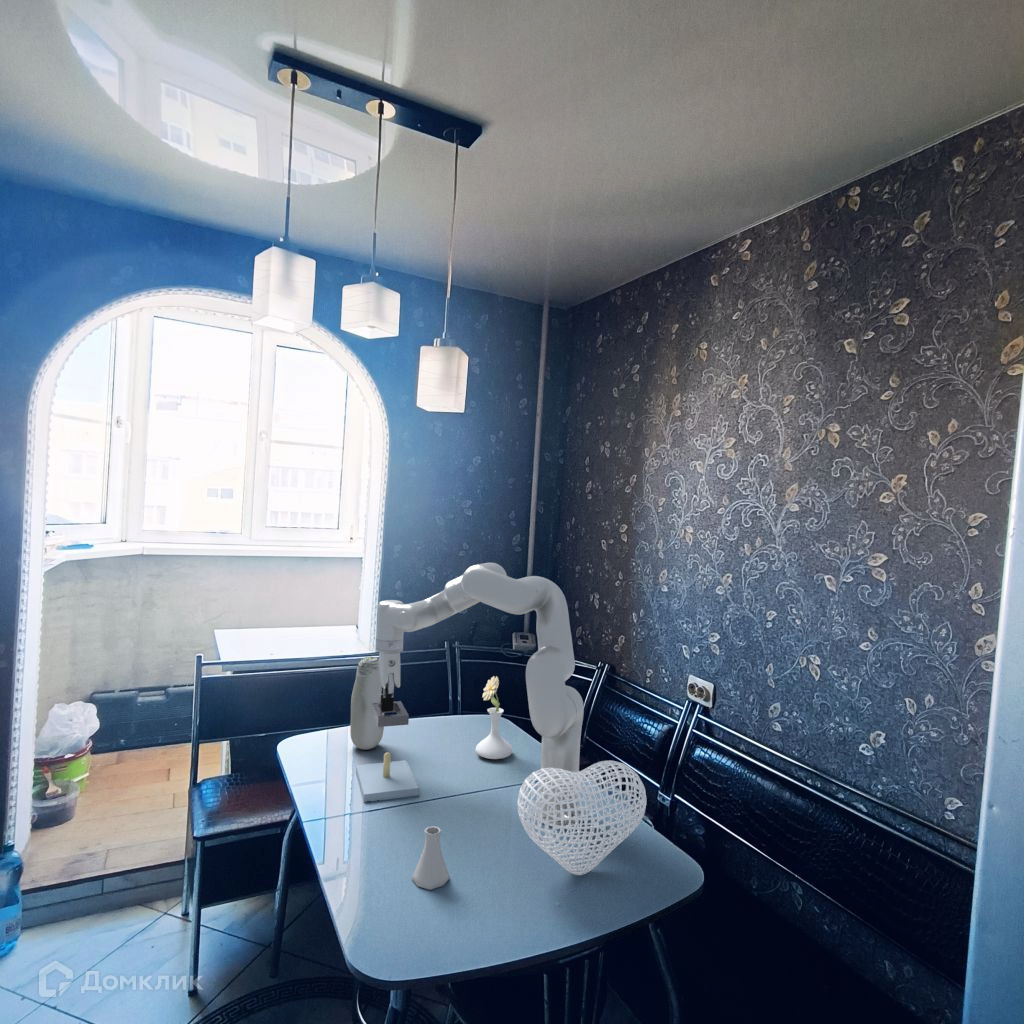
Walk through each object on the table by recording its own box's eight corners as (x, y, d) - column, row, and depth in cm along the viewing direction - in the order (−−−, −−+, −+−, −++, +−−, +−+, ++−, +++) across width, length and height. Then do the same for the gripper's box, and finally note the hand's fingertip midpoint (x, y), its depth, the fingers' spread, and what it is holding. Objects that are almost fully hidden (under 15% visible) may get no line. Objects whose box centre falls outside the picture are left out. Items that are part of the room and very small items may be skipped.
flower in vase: (476, 747, 194) (480, 667, 194) (513, 749, 193) (516, 669, 193) (472, 764, 181) (476, 679, 181) (511, 766, 180) (514, 681, 180)
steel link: (408, 724, 164) (408, 715, 164) (377, 727, 161) (378, 717, 161) (400, 709, 175) (400, 701, 175) (371, 711, 172) (372, 703, 172)
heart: (531, 909, 116) (536, 792, 116) (503, 864, 130) (508, 760, 130) (658, 883, 126) (662, 775, 126) (619, 843, 140) (623, 747, 140)
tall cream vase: (350, 742, 193) (354, 653, 193) (383, 741, 195) (387, 653, 195) (348, 754, 184) (351, 661, 183) (382, 753, 186) (386, 661, 185)
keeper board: (418, 795, 160) (419, 763, 160) (363, 802, 155) (364, 769, 155) (405, 767, 177) (406, 738, 177) (355, 772, 172) (357, 742, 172)
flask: (431, 864, 129) (433, 817, 129) (456, 878, 125) (458, 829, 125) (405, 879, 124) (407, 830, 124) (430, 895, 119) (432, 844, 119)
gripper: (408, 650, 167) (404, 718, 167) (398, 638, 181) (395, 700, 181) (380, 651, 164) (376, 720, 164) (372, 639, 179) (369, 702, 179)
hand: (386, 709), depth 173 cm, fingers closed on steel link, 1 cm apart
